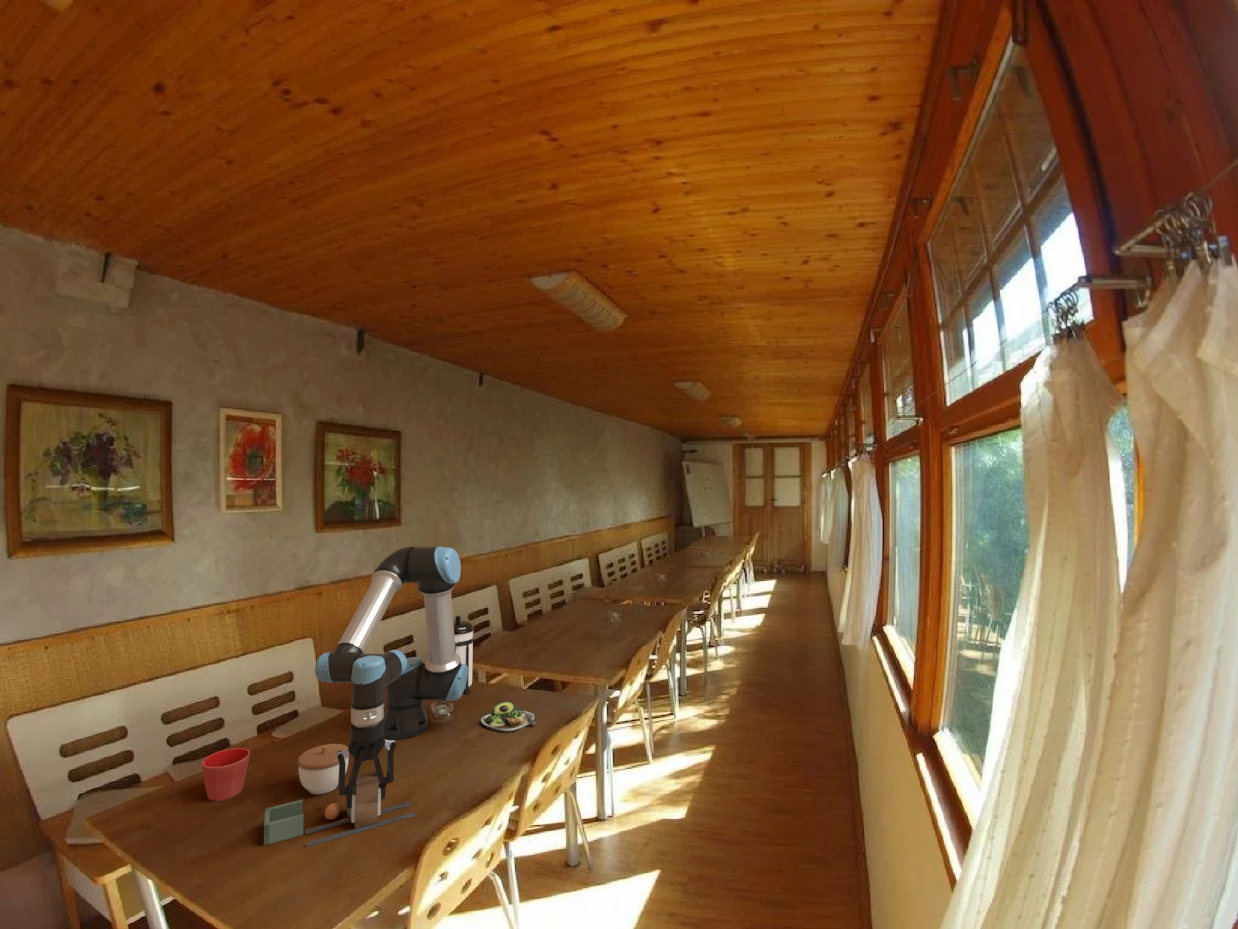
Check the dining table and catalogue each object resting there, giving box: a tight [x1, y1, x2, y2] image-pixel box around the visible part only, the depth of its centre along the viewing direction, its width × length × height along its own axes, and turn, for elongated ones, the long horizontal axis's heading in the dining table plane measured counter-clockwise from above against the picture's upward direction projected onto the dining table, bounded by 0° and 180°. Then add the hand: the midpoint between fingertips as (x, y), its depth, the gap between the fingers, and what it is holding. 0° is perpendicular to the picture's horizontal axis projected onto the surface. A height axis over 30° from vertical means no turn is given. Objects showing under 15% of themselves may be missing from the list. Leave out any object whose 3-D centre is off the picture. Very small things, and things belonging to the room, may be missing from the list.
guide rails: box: [305, 800, 415, 848], centre depth 140 cm, size 6×24×1 cm, turn 121°
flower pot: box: [201, 747, 251, 802], centre depth 153 cm, size 11×11×10 cm
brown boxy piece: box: [345, 770, 379, 829], centre depth 143 cm, size 10×6×11 cm, turn 31°
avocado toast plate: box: [480, 701, 536, 733], centre depth 199 cm, size 19×18×5 cm
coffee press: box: [453, 615, 475, 695], centre depth 228 cm, size 17×16×30 cm
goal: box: [263, 799, 305, 847], centre depth 137 cm, size 8×8×4 cm
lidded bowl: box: [297, 743, 350, 795], centre depth 156 cm, size 13×13×11 cm
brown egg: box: [324, 802, 341, 821], centre depth 142 cm, size 4×4×4 cm
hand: (365, 816), depth 140 cm, fingers closed on brown boxy piece, 5 cm apart
